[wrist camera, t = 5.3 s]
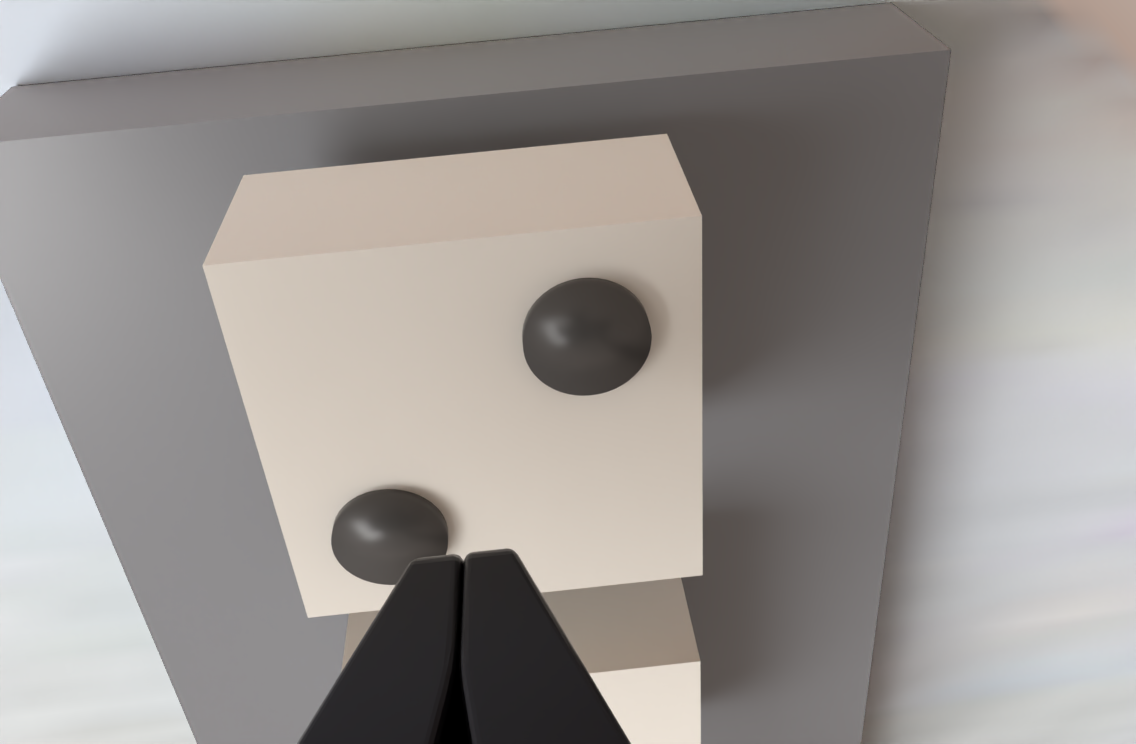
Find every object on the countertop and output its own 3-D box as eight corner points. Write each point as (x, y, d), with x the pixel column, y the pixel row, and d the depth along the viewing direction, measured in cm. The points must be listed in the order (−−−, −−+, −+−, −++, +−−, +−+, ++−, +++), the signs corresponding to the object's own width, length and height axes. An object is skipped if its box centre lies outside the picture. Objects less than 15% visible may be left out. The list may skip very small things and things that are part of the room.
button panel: (890, 3, 13) (951, 49, 12) (813, 809, 23) (840, 898, 21) (12, 86, 13) (-55, 147, 11) (303, 867, 22) (289, 962, 21)
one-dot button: (674, 547, 14) (702, 671, 13) (678, 749, 17) (703, 876, 15) (352, 581, 14) (336, 711, 13) (404, 780, 17) (396, 912, 15)
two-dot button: (666, 133, 11) (705, 223, 9) (673, 463, 13) (704, 585, 12) (244, 175, 11) (197, 273, 9) (328, 500, 13) (306, 628, 12)
